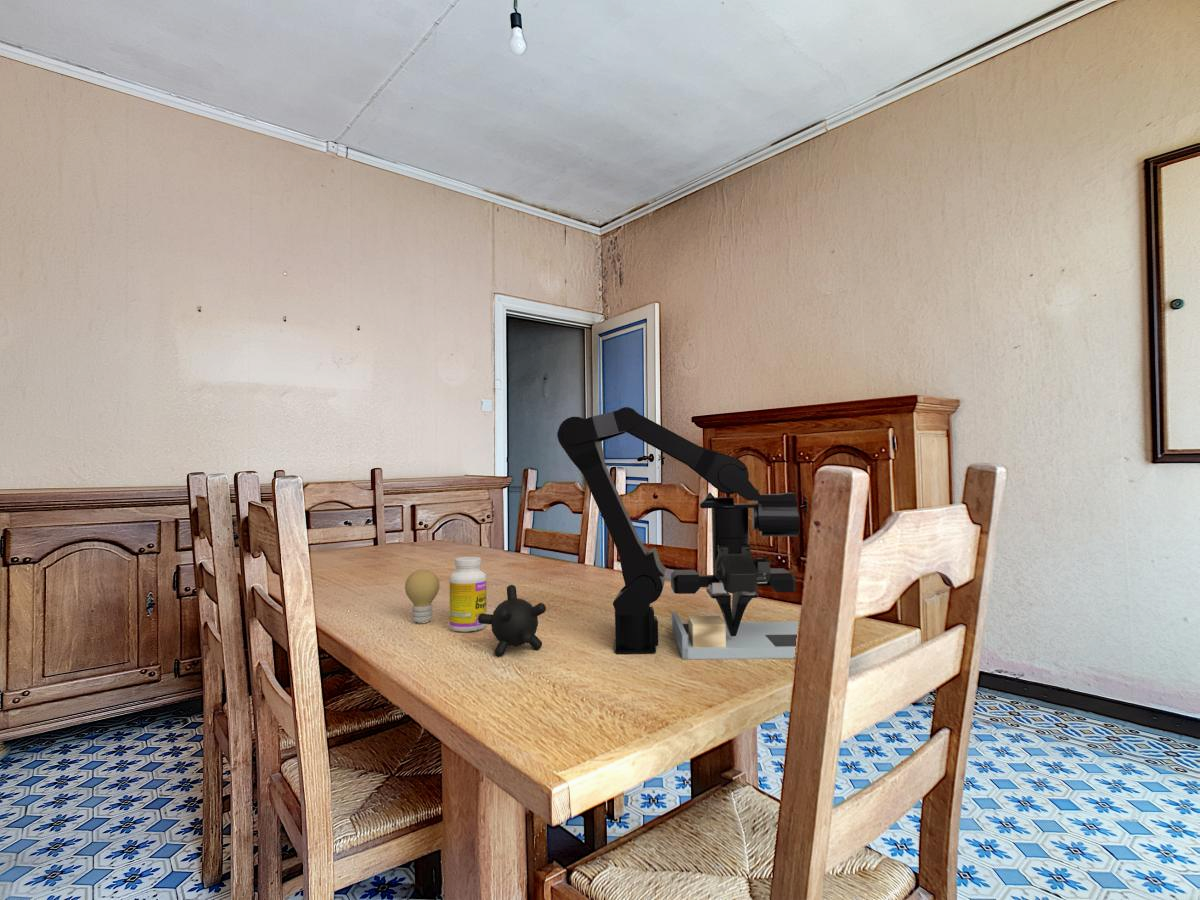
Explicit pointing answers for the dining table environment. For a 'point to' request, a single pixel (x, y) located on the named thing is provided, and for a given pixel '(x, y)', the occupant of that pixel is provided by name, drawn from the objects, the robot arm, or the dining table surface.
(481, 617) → the toy ball
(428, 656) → the dining table surface
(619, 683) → the dining table surface
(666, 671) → the dining table surface
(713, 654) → the board
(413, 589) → the light bulb
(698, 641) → the block
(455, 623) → the supplement bottle
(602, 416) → the robot arm
